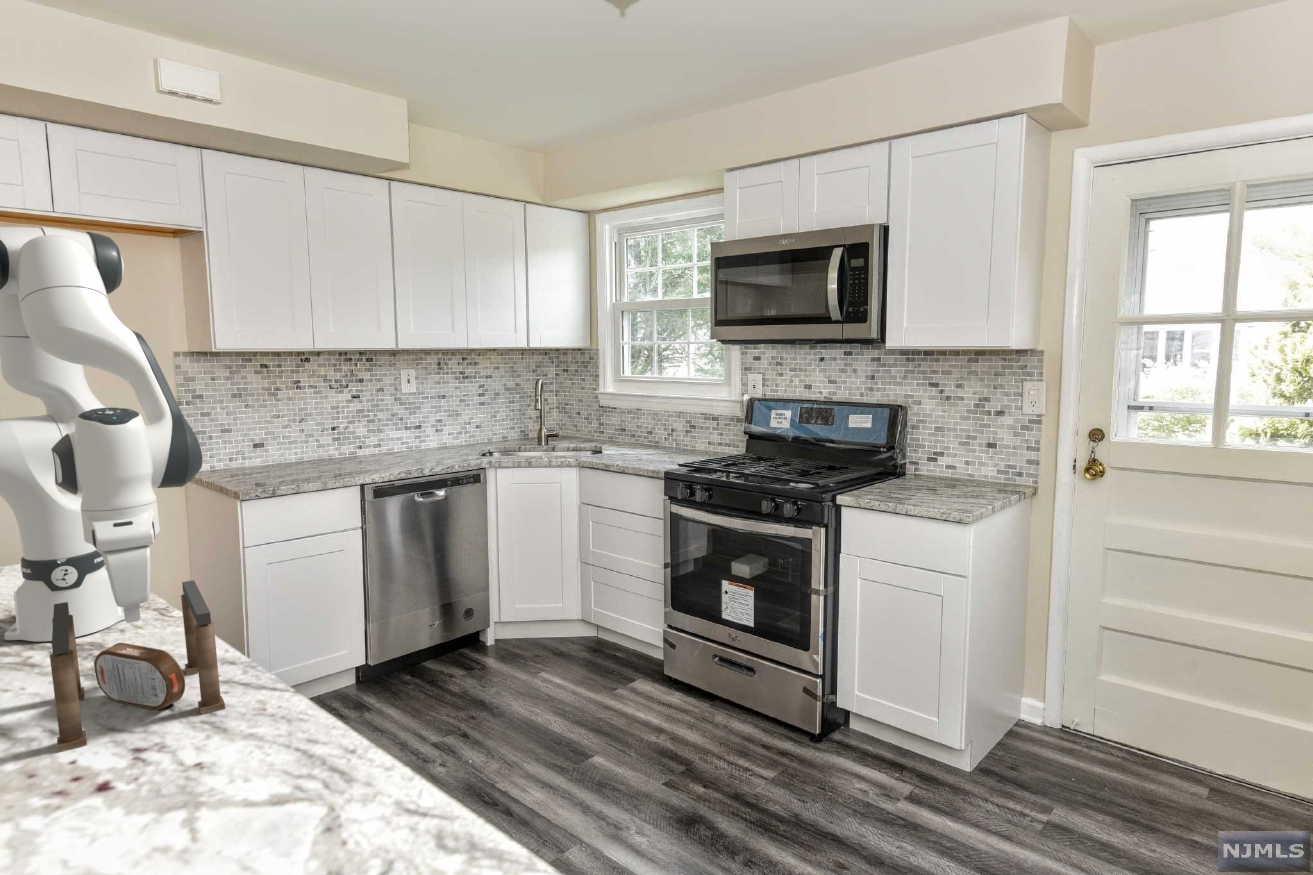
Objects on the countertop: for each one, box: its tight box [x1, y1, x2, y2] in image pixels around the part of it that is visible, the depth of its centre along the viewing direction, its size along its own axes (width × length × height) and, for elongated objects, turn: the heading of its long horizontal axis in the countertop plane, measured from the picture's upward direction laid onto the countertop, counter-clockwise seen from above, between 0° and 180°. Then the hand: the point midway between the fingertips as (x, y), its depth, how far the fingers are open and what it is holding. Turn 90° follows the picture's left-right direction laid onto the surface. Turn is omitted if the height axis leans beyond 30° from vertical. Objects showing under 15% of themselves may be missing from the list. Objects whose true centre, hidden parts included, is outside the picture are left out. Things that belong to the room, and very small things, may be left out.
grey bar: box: [51, 602, 69, 655], centre depth 106 cm, size 18×2×2 cm, turn 37°
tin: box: [93, 642, 186, 711], centre depth 113 cm, size 15×3×8 cm, turn 71°
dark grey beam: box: [181, 579, 212, 626], centre depth 116 cm, size 18×2×2 cm, turn 37°
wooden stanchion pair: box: [49, 593, 226, 753], centre depth 112 cm, size 19×19×12 cm
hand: (132, 619), depth 111 cm, fingers closed
